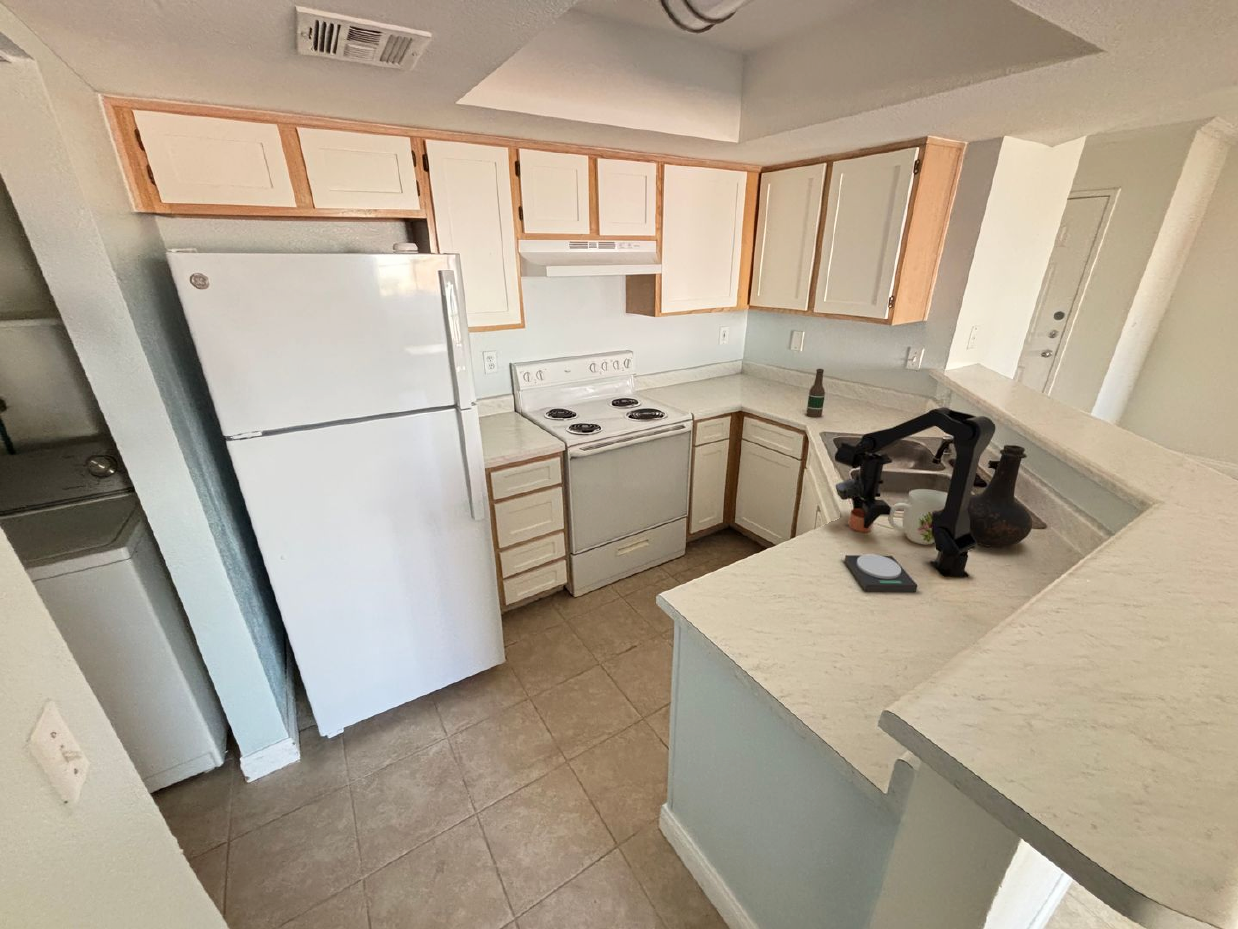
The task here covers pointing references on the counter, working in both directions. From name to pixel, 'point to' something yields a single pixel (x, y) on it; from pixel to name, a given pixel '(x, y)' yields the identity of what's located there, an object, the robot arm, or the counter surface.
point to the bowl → (858, 521)
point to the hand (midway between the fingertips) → (860, 522)
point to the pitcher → (919, 514)
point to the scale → (880, 573)
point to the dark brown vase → (1000, 505)
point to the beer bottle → (816, 396)
